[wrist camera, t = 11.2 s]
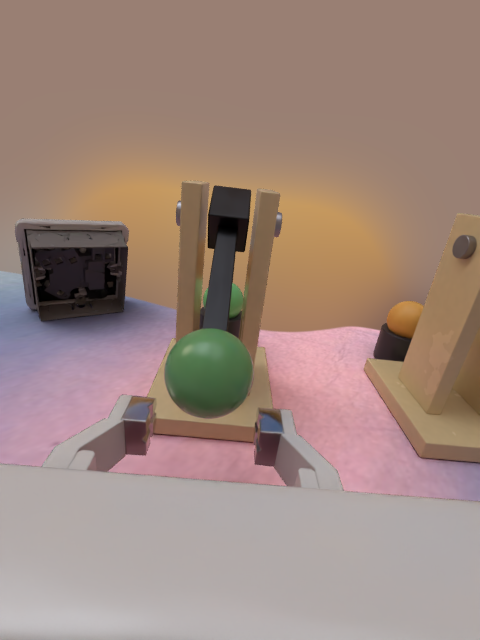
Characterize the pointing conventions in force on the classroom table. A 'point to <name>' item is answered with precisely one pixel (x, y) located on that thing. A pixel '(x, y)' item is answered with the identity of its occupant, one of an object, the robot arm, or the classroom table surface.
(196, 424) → the wooden lever stand
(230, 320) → the green lamp
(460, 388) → the tan wooden upright frame
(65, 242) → the electrical switch
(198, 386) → the green switch
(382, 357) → the amber lamp
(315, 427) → the classroom table surface
